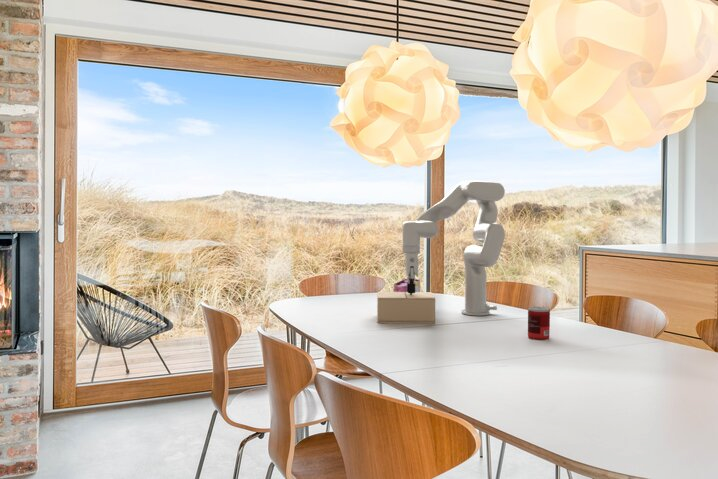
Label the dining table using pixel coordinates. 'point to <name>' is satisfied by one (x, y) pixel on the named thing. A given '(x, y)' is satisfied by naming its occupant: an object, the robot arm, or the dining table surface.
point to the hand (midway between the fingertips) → (411, 291)
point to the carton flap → (419, 295)
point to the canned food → (538, 323)
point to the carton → (404, 309)
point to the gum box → (402, 286)
